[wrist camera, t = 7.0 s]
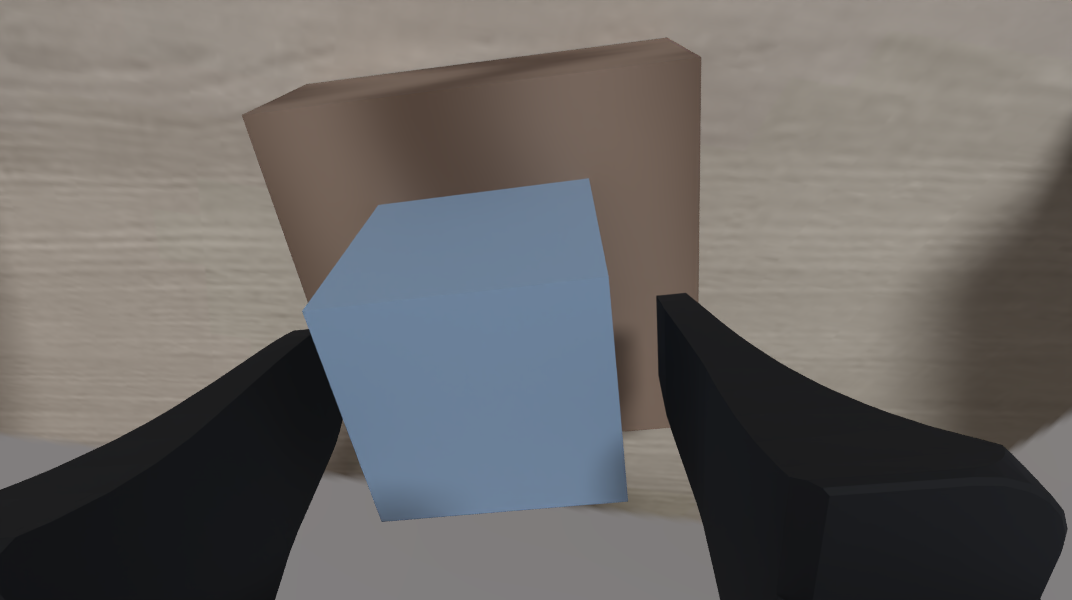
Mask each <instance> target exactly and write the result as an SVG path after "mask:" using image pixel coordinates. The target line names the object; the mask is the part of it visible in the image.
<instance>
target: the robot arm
mask: <svg viewBox="0 0 1072 600" xmlns="http://www.w3.org/2000/svg"><path fill="white" fill-rule="evenodd" d="M656 308H657V344H658V376H659V381H660V387H661V392H662V397H663V401H664V406H665V411H666V416H667V419H668V422H669V425H670V428H671V430H672V433H673V436H674V439H675V442H676V445H677V448H678V451H679V454H680V457H681V459H682V462H683V465H684V468H685V471H686V474H687V477H688V480H689V482H690V485H691V488H692V491H693V494H694V497H695V500H696V503H697V506H698V509H699V512H700V516H701V519H702V523H703V526H704V531H705V535H706V539H707V543H708V548H709V552H710V556H711V561H712V565H713V569H714V574H715V578H716V583H717V587H718V592H719V596H720V600H1041V599H1040V598H1041V596H1042V593H1043V591H1044V589H1045V587H1046V585H1047V582H1048V580H1049V578H1050V576H1051V574H1052V572H1053V569H1054V567H1055V565H1056V563H1057V561H1058V558H1059V556H1060V554H1061V551H1062V549H1063V545H1064V541H1065V537H1066V533H1067V524H1066V519H1065V514H1064V511H1063V509H1062V508H1061V507H1060V505H1059V504H1058V503H1057V502H1056V500H1055V499H1054V498H1053V496H1052V495H1051V494H1050V493H1049V492H1048V491H1047V490H1046V489H1045V488H1044V487H1043V486H1042V485H1041V484H1040V483H1039V481H1038V480H1037V479H1036V478H1035V477H1034V476H1033V475H1032V474H1031V473H1030V472H1029V471H1028V470H1027V469H1026V468H1025V467H1024V466H1023V465H1022V464H1021V463H1020V462H1019V461H1018V460H1017V459H1016V458H1015V457H1014V456H1013V455H1012V454H1011V453H1010V452H1009V451H1008V450H1007V449H1006V448H1005V447H1004V446H1003V445H1000V444H996V443H992V442H988V441H985V440H981V439H977V438H973V437H969V436H965V435H961V434H958V433H954V432H950V431H946V430H942V429H938V428H934V427H931V426H928V425H924V424H921V423H918V422H915V421H912V420H909V419H906V418H903V417H900V416H897V415H894V414H891V413H888V412H886V411H883V410H880V409H877V408H875V407H872V406H869V405H867V404H864V403H862V402H859V401H857V400H855V399H852V398H850V397H848V396H845V395H843V394H841V393H838V392H836V391H833V390H831V389H829V388H827V387H825V386H823V385H821V384H819V383H817V382H815V381H813V380H811V379H809V378H807V377H805V376H803V375H801V374H799V373H798V372H796V371H794V370H792V369H790V368H788V367H786V366H785V365H783V364H781V363H780V362H778V361H776V360H775V359H773V358H772V357H770V356H768V355H767V354H765V353H764V352H762V351H761V350H759V349H758V348H756V347H755V346H753V345H752V344H750V343H749V342H747V341H746V340H745V339H743V338H742V337H740V336H739V335H738V334H736V333H735V332H734V331H732V330H731V329H730V328H728V327H727V326H726V325H725V324H723V323H722V322H721V321H719V320H718V319H717V318H716V317H715V316H713V315H712V314H711V313H710V312H709V311H707V310H706V309H705V308H704V307H703V306H701V305H700V304H699V303H698V302H697V301H695V300H694V299H693V298H692V297H691V296H689V295H688V294H687V293H678V294H668V295H658V296H656ZM342 420H343V418H342V415H341V413H340V410H339V407H338V405H337V402H336V399H335V397H334V394H333V391H332V389H331V386H330V383H329V381H328V378H327V375H326V373H325V370H324V367H323V365H322V362H321V360H320V357H319V354H318V352H317V349H316V346H315V344H314V341H313V338H312V336H311V333H310V330H309V329H306V330H296V331H292V332H290V333H288V334H286V335H284V336H283V337H281V338H279V339H278V340H276V341H274V342H273V343H271V344H270V345H268V346H267V347H265V348H264V349H262V350H261V351H259V352H258V353H256V354H255V355H253V356H252V357H250V358H249V359H247V360H246V361H244V362H243V363H241V364H240V365H238V366H237V367H235V368H234V369H232V370H231V371H229V372H228V373H226V374H225V375H223V376H222V377H221V378H219V379H218V380H216V381H215V382H213V383H211V384H210V385H208V386H207V387H205V388H204V389H202V390H200V391H199V392H197V393H196V394H194V395H192V396H191V397H189V398H188V399H186V400H185V401H183V402H181V403H180V404H178V405H177V406H175V407H173V408H172V409H170V410H169V411H167V412H165V413H163V414H162V415H160V416H158V417H156V418H155V419H153V420H151V421H149V422H148V423H146V424H144V425H142V426H140V427H138V428H136V429H135V430H133V431H131V432H129V433H127V434H125V435H123V436H121V437H120V438H118V439H116V440H114V441H112V442H110V443H108V444H105V445H103V446H101V447H99V448H97V449H95V450H93V451H90V452H88V453H86V454H84V455H82V456H80V457H78V458H75V459H73V460H71V461H69V462H67V463H64V464H62V465H60V466H58V467H56V468H53V469H51V470H49V471H47V472H44V473H41V474H39V475H37V476H34V477H32V478H30V479H27V480H24V481H22V482H19V483H17V484H14V485H12V486H9V487H7V488H4V489H1V490H0V600H275V598H276V594H277V591H278V588H279V585H280V582H281V579H282V576H283V572H284V569H285V566H286V562H287V559H288V556H289V553H290V550H291V548H292V545H293V543H294V540H295V537H296V535H297V532H298V530H299V528H300V525H301V523H302V521H303V519H304V516H305V514H306V512H307V510H308V507H309V505H310V503H311V500H312V498H313V496H314V494H315V491H316V489H317V487H318V485H319V482H320V480H321V478H322V475H323V473H324V471H325V468H326V466H327V464H328V461H329V459H330V457H331V454H332V452H333V450H334V447H335V445H336V442H337V439H338V435H339V432H340V428H341V424H342Z"/></svg>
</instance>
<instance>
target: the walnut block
mask: <svg viewBox="0 0 1072 600" xmlns="http://www.w3.org/2000/svg"><path fill="white" fill-rule="evenodd" d="M700 116H701V57H700V56H698V55H697V54H695V53H693V52H691V51H690V50H688V49H686V48H684V47H683V46H681V45H679V44H677V43H676V42H674V41H672V40H670V39H669V38H662V39H654V40H646V41H638V42H631V43H623V44H615V45H607V46H600V47H592V48H584V49H576V50H569V51H561V52H553V53H545V54H538V55H530V56H522V57H515V58H507V59H499V60H491V61H484V62H476V63H468V64H460V65H453V66H445V67H437V68H429V69H422V70H414V71H406V72H398V73H391V74H383V75H375V76H367V77H360V78H352V79H344V80H336V81H329V82H321V83H313V84H306V85H304V86H302V87H300V88H298V89H296V90H293V91H291V92H289V93H287V94H285V95H283V96H281V97H279V98H277V99H275V100H273V101H270V102H268V103H266V104H264V105H262V106H260V107H258V108H256V109H254V110H252V111H250V112H247V113H245V114H243V115H242V117H243V120H244V122H245V125H246V128H247V131H248V134H249V137H250V139H251V142H252V145H253V148H254V151H255V154H256V156H257V159H258V162H259V165H260V168H261V171H262V173H263V176H264V179H265V182H266V185H267V188H268V190H269V193H270V196H271V199H272V202H273V205H274V207H275V210H276V213H277V216H278V219H279V222H280V224H281V227H282V230H283V233H284V236H285V239H286V241H287V244H288V247H289V250H290V253H291V256H292V258H293V261H294V264H295V267H296V270H297V273H298V275H299V278H300V281H301V284H302V287H303V290H304V292H305V295H306V298H307V301H308V302H309V301H310V300H311V298H312V297H313V296H314V294H315V293H316V291H317V290H318V289H319V287H320V286H321V284H322V283H323V282H324V280H325V279H326V277H327V276H328V275H329V273H330V272H331V270H332V269H333V268H334V266H335V265H336V263H337V262H338V261H339V259H340V258H341V256H342V255H343V254H344V252H345V251H346V249H347V248H348V247H349V245H350V244H351V242H352V241H353V240H354V238H355V237H356V235H357V234H358V233H359V231H360V230H361V228H362V227H363V226H364V224H365V223H366V221H367V220H368V219H369V217H370V216H371V215H372V213H373V212H374V210H375V209H376V208H377V206H378V205H382V204H390V203H398V202H406V201H414V200H422V199H430V198H438V197H446V196H453V195H461V194H469V193H477V192H485V191H493V190H501V189H509V188H517V187H524V186H532V185H540V184H548V183H556V182H564V181H572V180H580V179H588V178H589V181H590V186H591V191H592V196H593V201H594V206H595V211H596V216H597V221H598V226H599V231H600V236H601V241H602V246H603V251H604V256H605V261H606V266H607V271H608V276H609V287H610V299H611V310H612V322H613V334H614V345H615V357H616V368H617V380H618V391H619V403H620V415H621V426H622V431H635V430H647V429H659V428H670V425H669V422H668V419H667V416H666V411H665V406H664V401H663V397H662V392H661V387H660V381H659V376H658V344H657V308H656V296H658V295H668V294H678V293H687V294H688V295H689V296H691V297H692V298H693V299H694V300H695V301H697V302H698V287H699V201H700Z"/></svg>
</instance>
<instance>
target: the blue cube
mask: <svg viewBox="0 0 1072 600" xmlns="http://www.w3.org/2000/svg"><path fill="white" fill-rule="evenodd" d="M302 312H303V315H304V317H305V320H306V322H307V325H308V328H309V330H310V333H311V336H312V338H313V341H314V344H315V346H316V349H317V352H318V354H319V357H320V360H321V362H322V365H323V367H324V370H325V373H326V375H327V378H328V381H329V383H330V386H331V389H332V391H333V394H334V397H335V399H336V402H337V405H338V407H339V410H340V413H341V415H342V418H343V420H344V423H345V426H346V428H347V431H348V434H349V436H350V439H351V442H352V444H353V447H354V450H355V452H356V455H357V458H358V460H359V463H360V465H361V468H362V471H363V473H364V476H365V479H366V481H367V484H368V487H369V489H370V492H371V495H372V497H373V500H374V503H375V505H376V508H377V510H378V513H379V516H380V518H381V521H382V522H385V521H397V520H409V519H421V518H433V517H445V516H457V515H470V514H482V513H494V512H506V511H518V510H530V509H541V508H554V507H566V506H578V505H591V504H603V503H615V502H627V501H628V496H627V484H626V473H625V461H624V449H623V438H622V426H621V415H620V403H619V391H618V380H617V368H616V357H615V345H614V334H613V322H612V310H611V299H610V287H609V276H608V271H607V266H606V261H605V256H604V251H603V246H602V241H601V236H600V231H599V226H598V221H597V216H596V211H595V206H594V201H593V196H592V191H591V186H590V181H589V178H588V179H580V180H572V181H564V182H556V183H548V184H540V185H532V186H524V187H517V188H509V189H501V190H493V191H485V192H477V193H469V194H461V195H453V196H446V197H438V198H430V199H422V200H414V201H406V202H398V203H390V204H382V205H378V206H377V208H376V209H375V210H374V212H373V213H372V215H371V216H370V217H369V219H368V220H367V221H366V223H365V224H364V226H363V227H362V228H361V230H360V231H359V233H358V234H357V235H356V237H355V238H354V240H353V241H352V242H351V244H350V245H349V247H348V248H347V249H346V251H345V252H344V254H343V255H342V256H341V258H340V259H339V261H338V262H337V263H336V265H335V266H334V268H333V269H332V270H331V272H330V273H329V275H328V276H327V277H326V279H325V280H324V282H323V283H322V284H321V286H320V287H319V289H318V290H317V291H316V293H315V294H314V296H313V297H312V298H311V300H310V301H309V302H308V304H307V305H306V307H305V308H304V309H303V311H302Z"/></svg>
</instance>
